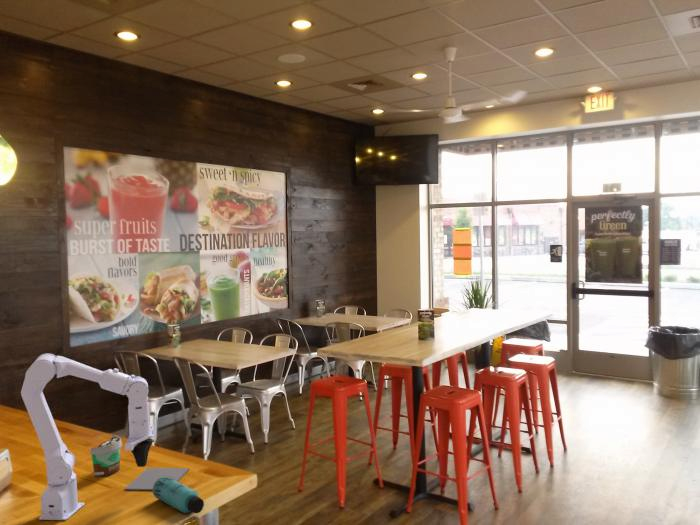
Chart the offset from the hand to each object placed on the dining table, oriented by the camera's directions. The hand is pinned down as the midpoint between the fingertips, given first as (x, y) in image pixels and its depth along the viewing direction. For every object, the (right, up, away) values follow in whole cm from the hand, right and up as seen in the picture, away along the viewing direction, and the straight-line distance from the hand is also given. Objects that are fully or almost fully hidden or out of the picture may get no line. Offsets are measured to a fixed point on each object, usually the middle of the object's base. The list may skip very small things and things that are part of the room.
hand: (141, 465), depth 172 cm
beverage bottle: (+5, -6, +1) cm, 8 cm away
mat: (+1, -9, +13) cm, 16 cm away
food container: (-17, -9, +20) cm, 28 cm away
